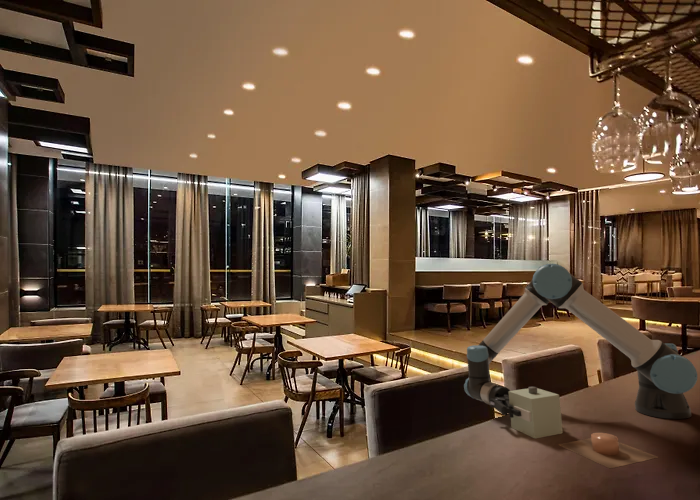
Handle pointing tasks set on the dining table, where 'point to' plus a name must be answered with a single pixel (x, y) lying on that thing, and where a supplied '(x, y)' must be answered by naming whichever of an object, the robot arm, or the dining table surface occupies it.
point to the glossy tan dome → (605, 443)
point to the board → (610, 461)
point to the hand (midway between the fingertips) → (545, 414)
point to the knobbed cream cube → (537, 412)
